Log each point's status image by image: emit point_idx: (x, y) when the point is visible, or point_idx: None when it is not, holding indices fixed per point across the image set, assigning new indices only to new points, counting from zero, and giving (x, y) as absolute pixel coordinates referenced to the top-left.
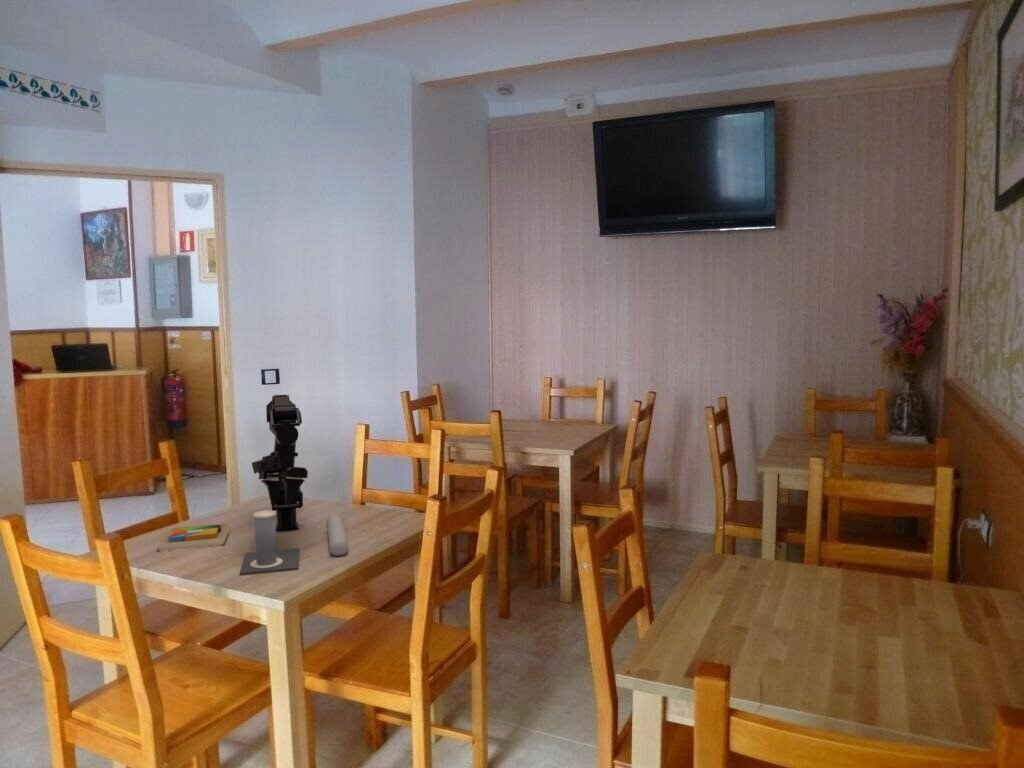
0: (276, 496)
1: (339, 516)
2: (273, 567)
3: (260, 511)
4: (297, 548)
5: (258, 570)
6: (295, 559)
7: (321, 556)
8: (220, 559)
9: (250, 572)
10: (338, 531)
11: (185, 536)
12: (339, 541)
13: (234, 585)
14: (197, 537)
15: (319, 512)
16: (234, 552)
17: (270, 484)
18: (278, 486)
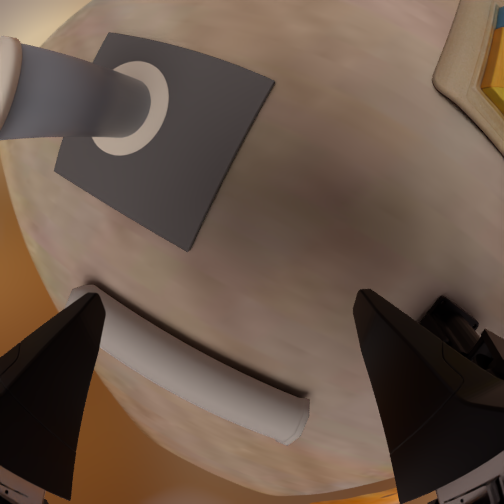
0: (377, 368)
1: (281, 442)
2: None
3: (2, 71)
4: (187, 244)
5: None
6: (99, 189)
7: (105, 263)
8: (290, 13)
9: (96, 57)
10: (129, 363)
11: (502, 27)
12: None
13: (74, 25)
14: (495, 49)
15: None
16: (336, 70)
17: (461, 426)
18: (407, 451)
